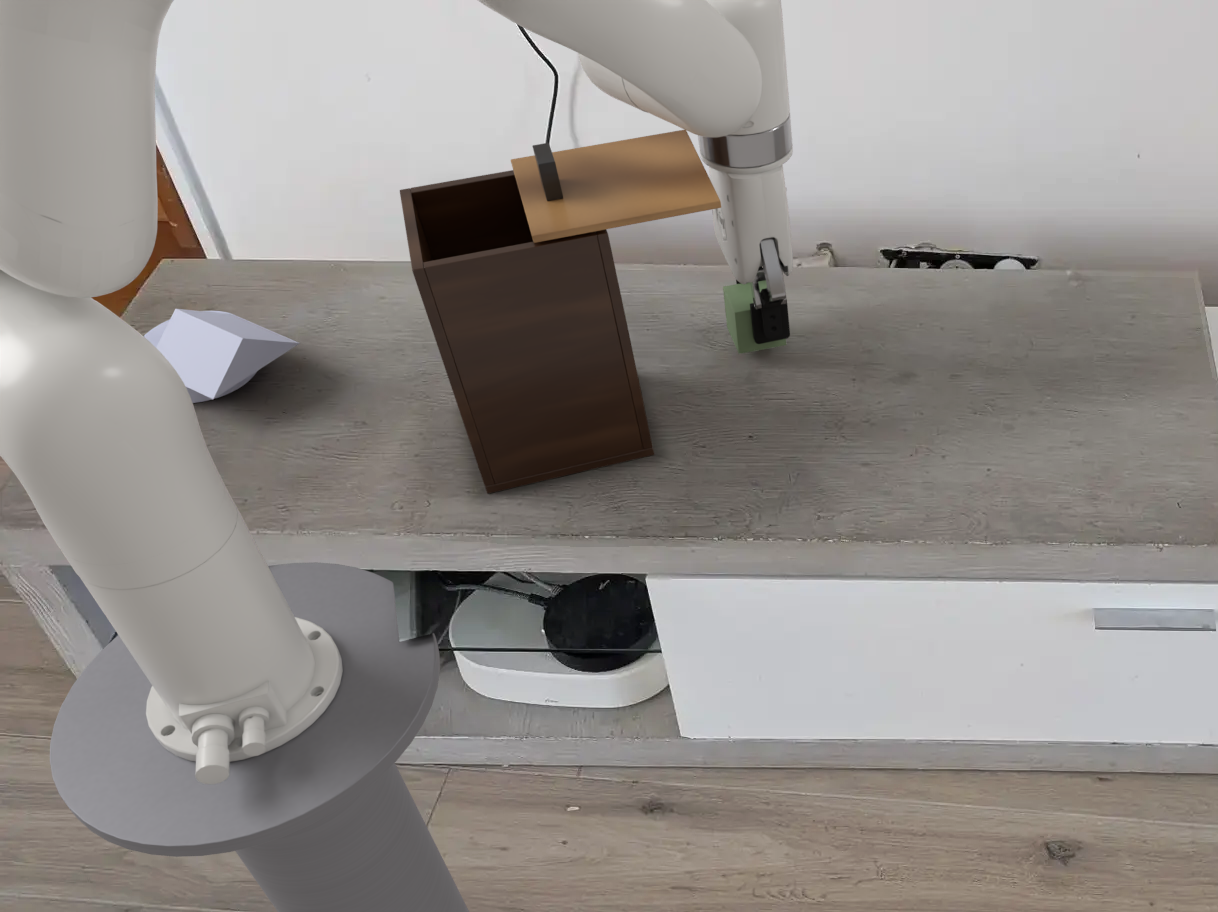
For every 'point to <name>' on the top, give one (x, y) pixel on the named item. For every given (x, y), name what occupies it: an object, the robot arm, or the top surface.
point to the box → (525, 333)
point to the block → (743, 318)
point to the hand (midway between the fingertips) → (764, 322)
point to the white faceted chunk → (216, 350)
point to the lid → (612, 185)
